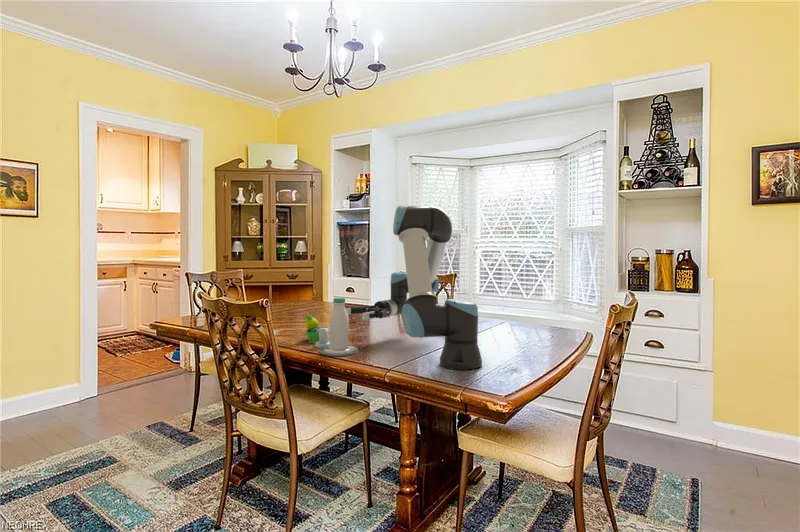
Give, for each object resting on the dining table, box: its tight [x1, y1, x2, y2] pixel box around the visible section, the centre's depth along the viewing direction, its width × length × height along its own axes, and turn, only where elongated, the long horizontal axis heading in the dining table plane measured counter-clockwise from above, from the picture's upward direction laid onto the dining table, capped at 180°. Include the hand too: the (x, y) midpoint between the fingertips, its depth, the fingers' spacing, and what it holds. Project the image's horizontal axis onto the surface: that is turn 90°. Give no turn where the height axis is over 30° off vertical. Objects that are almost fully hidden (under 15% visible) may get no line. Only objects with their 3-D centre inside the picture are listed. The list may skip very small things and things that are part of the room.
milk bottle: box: [328, 297, 350, 350], centre depth 180 cm, size 8×8×20 cm
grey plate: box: [319, 344, 359, 358], centre depth 180 cm, size 15×15×2 cm
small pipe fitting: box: [314, 327, 329, 349], centre depth 189 cm, size 7×7×8 cm
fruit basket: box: [305, 315, 329, 342], centre depth 200 cm, size 11×9×11 cm
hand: (350, 314), depth 185 cm, fingers open, 13 cm apart
